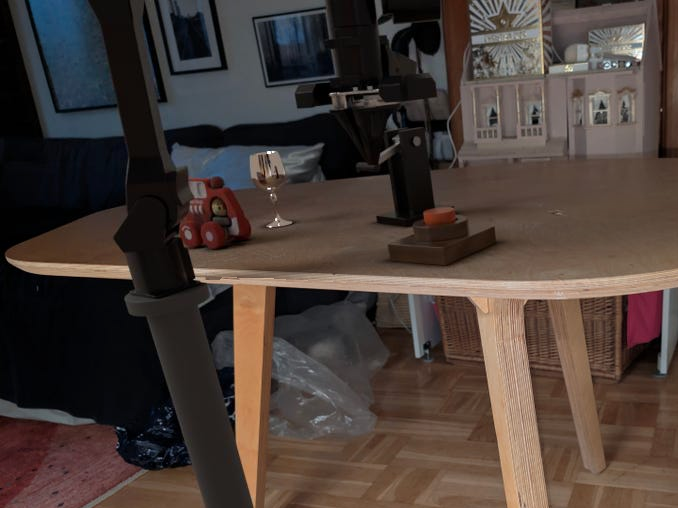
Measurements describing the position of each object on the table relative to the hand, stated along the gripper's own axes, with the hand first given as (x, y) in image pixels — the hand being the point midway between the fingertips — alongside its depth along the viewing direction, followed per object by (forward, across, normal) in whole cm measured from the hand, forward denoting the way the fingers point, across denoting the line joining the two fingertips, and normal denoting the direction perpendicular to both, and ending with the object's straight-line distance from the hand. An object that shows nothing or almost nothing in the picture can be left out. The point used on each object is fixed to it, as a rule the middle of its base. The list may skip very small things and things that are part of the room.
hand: (373, 165), depth 88 cm
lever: (+2, +13, -17) cm, 21 cm away
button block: (+11, -7, -3) cm, 14 cm away
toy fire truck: (+12, +35, +1) cm, 37 cm away
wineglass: (+12, +36, -12) cm, 40 cm away
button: (+8, -7, -3) cm, 11 cm away
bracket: (+11, +12, -20) cm, 26 cm away
